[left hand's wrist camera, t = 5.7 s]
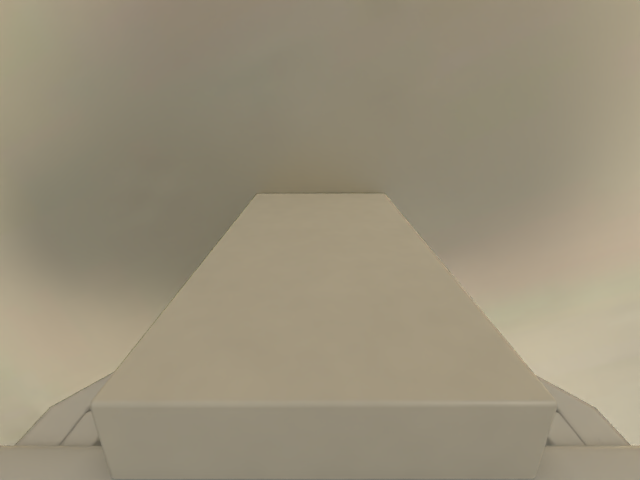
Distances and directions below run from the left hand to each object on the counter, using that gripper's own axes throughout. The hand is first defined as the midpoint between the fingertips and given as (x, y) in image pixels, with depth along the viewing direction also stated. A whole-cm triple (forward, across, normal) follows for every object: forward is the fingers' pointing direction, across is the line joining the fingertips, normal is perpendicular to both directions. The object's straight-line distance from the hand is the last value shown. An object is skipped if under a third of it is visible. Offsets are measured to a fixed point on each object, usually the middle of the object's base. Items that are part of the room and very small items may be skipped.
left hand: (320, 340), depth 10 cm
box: (+6, 0, +8) cm, 10 cm away
